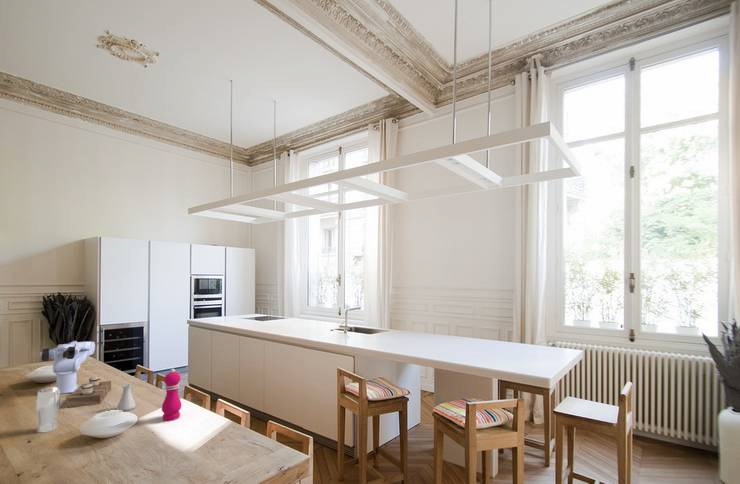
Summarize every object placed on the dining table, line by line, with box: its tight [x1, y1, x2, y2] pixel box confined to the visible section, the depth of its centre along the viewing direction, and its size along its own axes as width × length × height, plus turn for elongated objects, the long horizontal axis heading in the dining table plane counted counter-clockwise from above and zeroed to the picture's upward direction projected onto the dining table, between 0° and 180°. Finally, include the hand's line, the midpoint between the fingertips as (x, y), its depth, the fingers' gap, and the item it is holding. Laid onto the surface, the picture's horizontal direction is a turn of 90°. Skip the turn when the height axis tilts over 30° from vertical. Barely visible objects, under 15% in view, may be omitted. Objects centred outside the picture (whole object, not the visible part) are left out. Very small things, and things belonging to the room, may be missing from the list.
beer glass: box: [35, 386, 61, 434], centre depth 146 cm, size 7×7×15 cm
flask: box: [116, 384, 137, 412], centre depth 167 cm, size 7×7×10 cm
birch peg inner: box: [88, 376, 101, 387], centre depth 185 cm, size 4×4×4 cm
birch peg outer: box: [82, 383, 94, 395], centre depth 174 cm, size 4×4×4 cm
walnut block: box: [66, 380, 112, 409], centre depth 179 cm, size 22×12×4 cm, turn 23°
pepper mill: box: [161, 368, 182, 422], centre depth 157 cm, size 7×7×20 cm
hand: (53, 355), depth 172 cm, fingers open, 7 cm apart
